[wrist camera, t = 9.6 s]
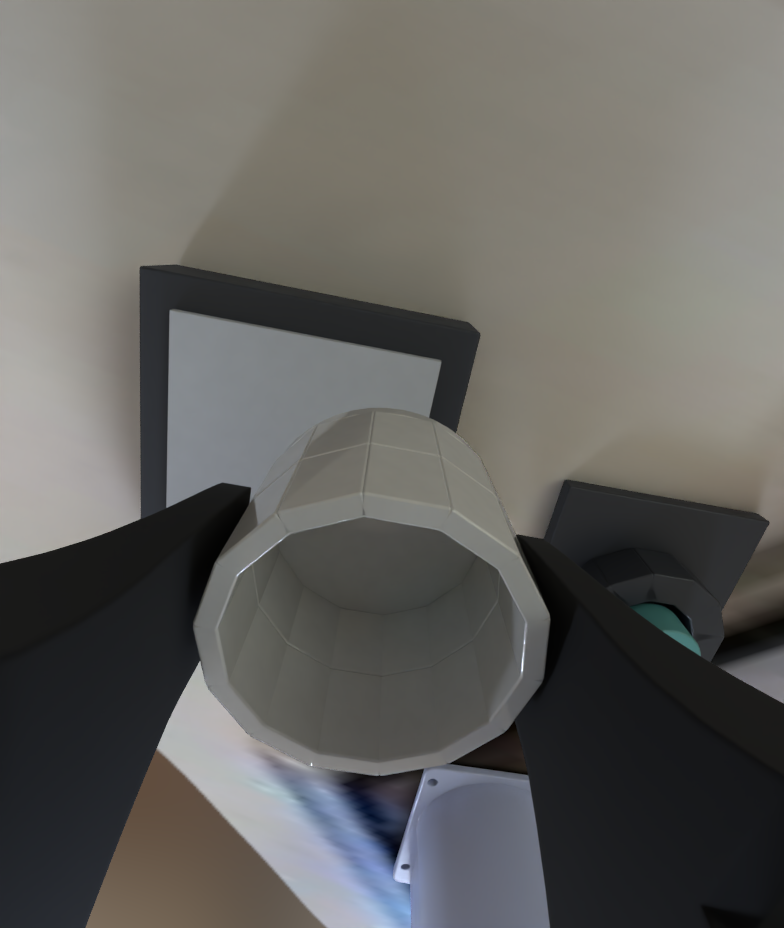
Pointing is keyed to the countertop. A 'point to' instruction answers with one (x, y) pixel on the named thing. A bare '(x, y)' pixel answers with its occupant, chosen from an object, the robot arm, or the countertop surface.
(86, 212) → the countertop surface
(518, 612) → the cup
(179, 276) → the scale
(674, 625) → the button
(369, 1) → the countertop surface
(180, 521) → the robot arm
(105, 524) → the countertop surface
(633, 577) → the pad
